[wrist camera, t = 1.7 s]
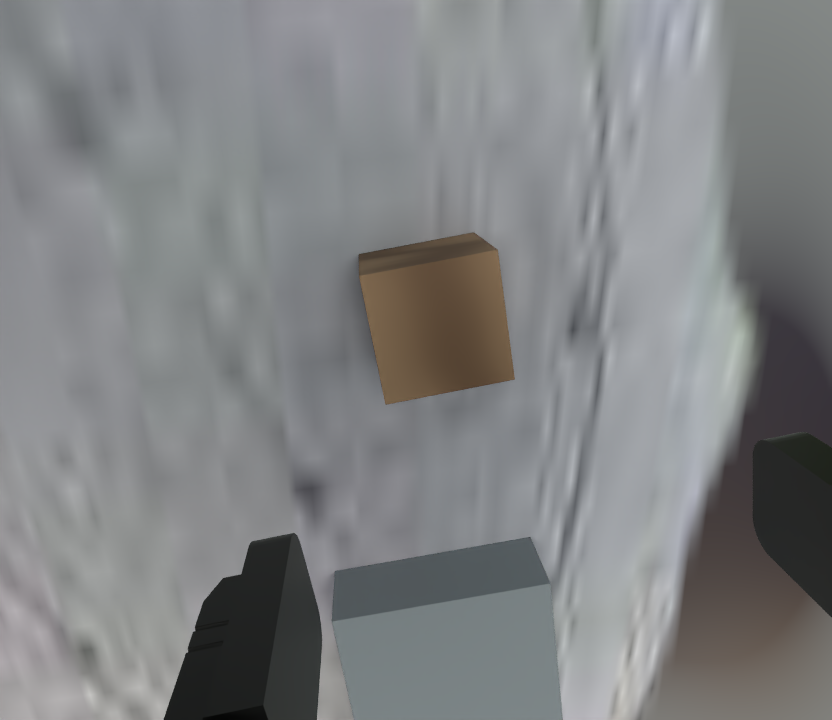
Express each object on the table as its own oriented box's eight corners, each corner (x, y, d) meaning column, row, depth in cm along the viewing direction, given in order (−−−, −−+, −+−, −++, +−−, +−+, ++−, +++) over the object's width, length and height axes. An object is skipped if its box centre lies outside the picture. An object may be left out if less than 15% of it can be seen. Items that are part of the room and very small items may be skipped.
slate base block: (367, 715, 36) (368, 783, 32) (335, 566, 32) (331, 621, 29) (543, 684, 36) (565, 747, 32) (528, 533, 33) (550, 583, 29)
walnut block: (381, 362, 29) (385, 404, 24) (359, 253, 27) (359, 276, 23) (489, 341, 29) (514, 379, 24) (473, 232, 27) (497, 249, 23)
